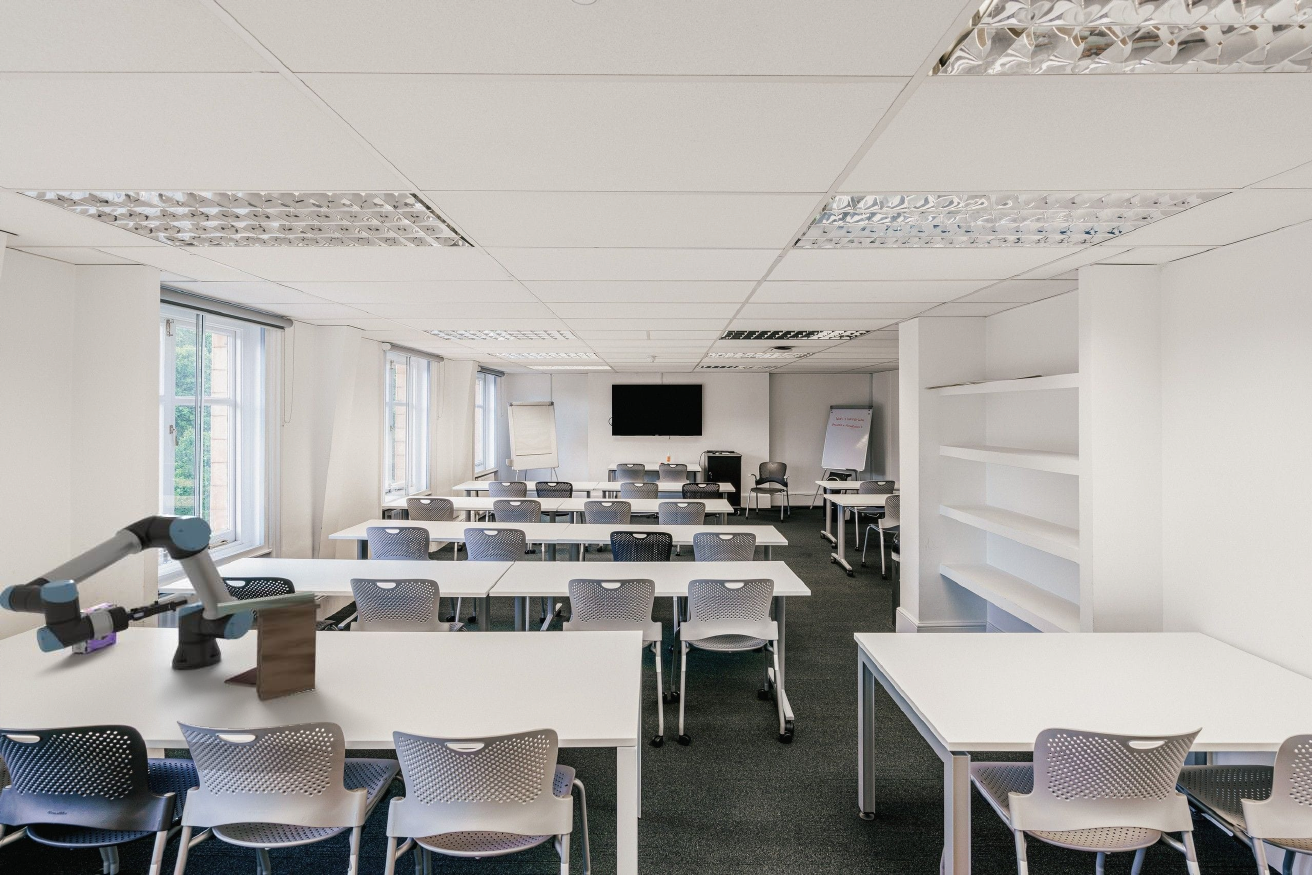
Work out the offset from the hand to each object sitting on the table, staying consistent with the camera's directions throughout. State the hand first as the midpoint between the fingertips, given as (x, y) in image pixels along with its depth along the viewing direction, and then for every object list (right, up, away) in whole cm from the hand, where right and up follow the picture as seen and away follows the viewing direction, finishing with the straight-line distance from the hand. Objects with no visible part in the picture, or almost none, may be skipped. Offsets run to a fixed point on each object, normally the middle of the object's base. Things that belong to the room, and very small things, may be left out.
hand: (191, 598), depth 206 cm
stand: (+27, -34, +8) cm, 44 cm away
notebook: (+11, -34, +21) cm, 42 cm away
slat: (+23, -4, +4) cm, 24 cm away
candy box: (-72, -32, +44) cm, 90 cm away
